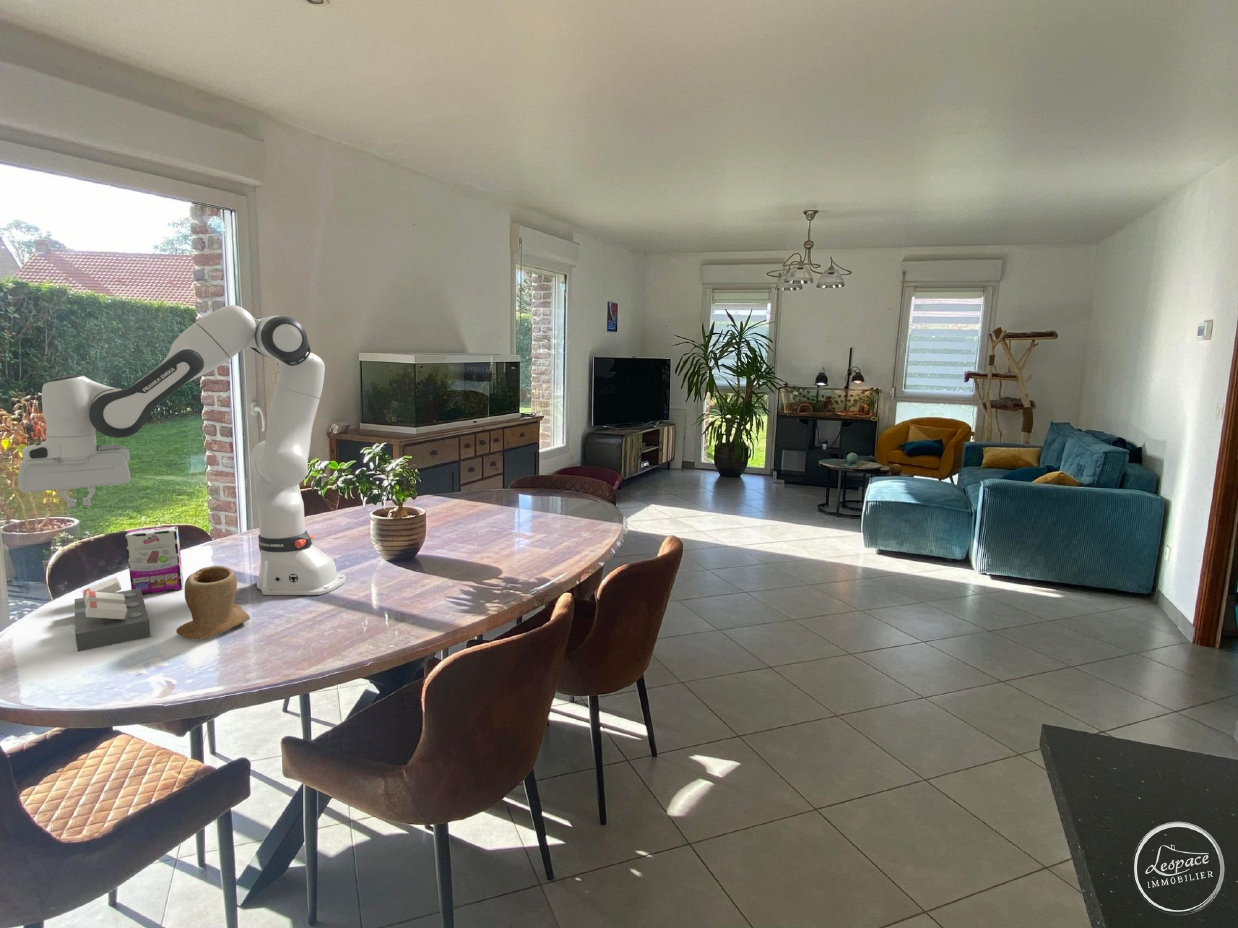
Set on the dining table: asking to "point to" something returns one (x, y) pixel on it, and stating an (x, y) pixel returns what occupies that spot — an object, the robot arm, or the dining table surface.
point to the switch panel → (112, 624)
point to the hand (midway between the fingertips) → (79, 506)
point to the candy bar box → (154, 560)
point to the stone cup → (211, 603)
